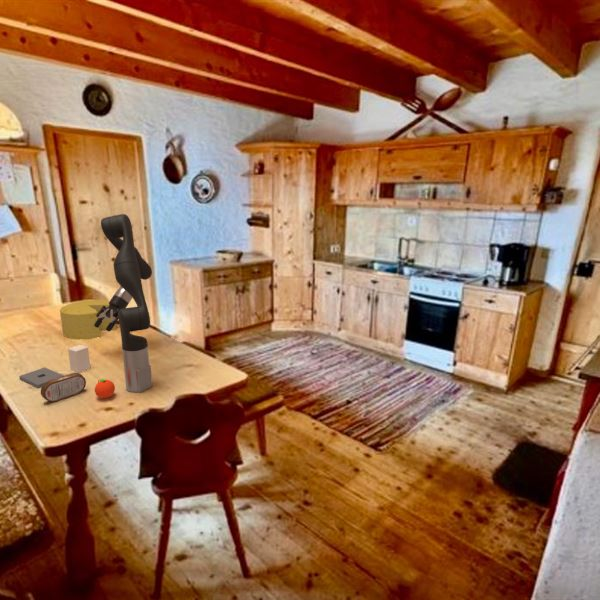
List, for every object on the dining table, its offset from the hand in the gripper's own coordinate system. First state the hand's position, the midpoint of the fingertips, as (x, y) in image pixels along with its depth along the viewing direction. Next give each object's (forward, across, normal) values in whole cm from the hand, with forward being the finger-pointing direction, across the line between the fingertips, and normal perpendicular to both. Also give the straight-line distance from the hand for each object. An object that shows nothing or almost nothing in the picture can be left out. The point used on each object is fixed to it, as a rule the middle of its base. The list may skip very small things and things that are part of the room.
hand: (101, 328), depth 177 cm
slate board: (+29, -4, -7) cm, 30 cm away
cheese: (-2, -41, +25) cm, 48 cm away
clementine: (+25, +30, -4) cm, 40 cm away
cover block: (+19, 0, +2) cm, 19 cm away
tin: (+31, +18, -10) cm, 37 cm away
